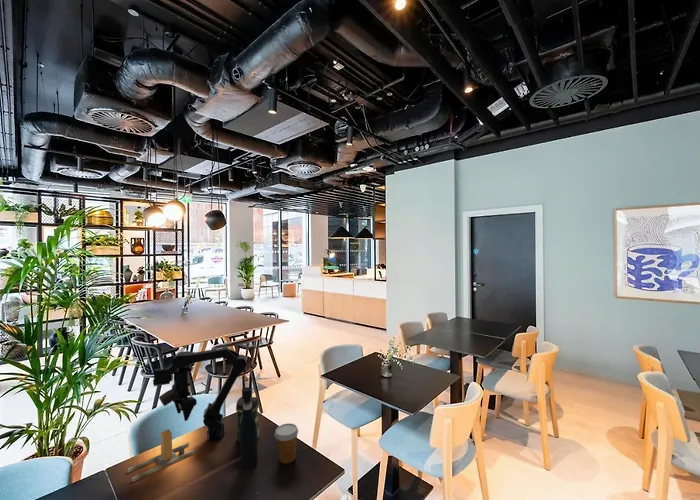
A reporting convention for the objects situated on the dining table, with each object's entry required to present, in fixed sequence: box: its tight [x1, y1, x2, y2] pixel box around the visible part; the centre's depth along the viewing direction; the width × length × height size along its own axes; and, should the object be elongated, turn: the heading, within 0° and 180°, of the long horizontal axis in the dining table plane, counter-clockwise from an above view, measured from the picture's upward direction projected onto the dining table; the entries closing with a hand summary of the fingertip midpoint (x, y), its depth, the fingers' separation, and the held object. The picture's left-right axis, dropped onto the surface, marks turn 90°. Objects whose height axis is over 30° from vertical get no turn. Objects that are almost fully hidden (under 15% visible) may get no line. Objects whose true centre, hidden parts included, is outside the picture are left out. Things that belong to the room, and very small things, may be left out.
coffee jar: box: [235, 396, 260, 443], centre depth 142 cm, size 10×8×19 cm
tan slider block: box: [156, 429, 178, 466], centre depth 127 cm, size 6×6×11 cm
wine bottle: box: [239, 386, 259, 470], centre depth 125 cm, size 6×6×30 cm
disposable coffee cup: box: [274, 422, 299, 464], centre depth 127 cm, size 10×10×12 cm
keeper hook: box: [176, 444, 185, 456], centre depth 131 cm, size 2×2×3 cm
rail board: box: [127, 441, 196, 482], centre depth 126 cm, size 22×8×2 cm, turn 136°
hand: (182, 416), depth 138 cm, fingers open, 9 cm apart
